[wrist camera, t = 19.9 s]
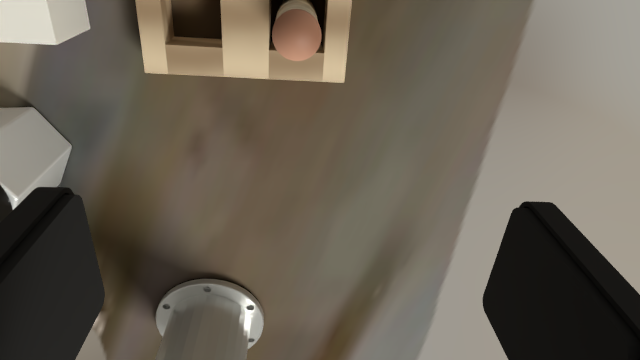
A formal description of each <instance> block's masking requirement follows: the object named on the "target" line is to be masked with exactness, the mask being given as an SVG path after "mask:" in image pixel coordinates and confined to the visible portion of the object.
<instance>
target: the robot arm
mask: <svg viewBox="0 0 640 360" xmlns="http://www.w3.org/2000/svg"><path fill="white" fill-rule="evenodd" d="M104 296H105V292H104V287H103V283H102V279H101V274H100V270H99V266H98V262H97V258H96V254H95V250H94V246H93V242H92V237H91V233H90V229H89V225H88V221H87V217H86V213H85V209H84V205H83V201H82V198H81V197H80V196H79V195H74V193H73V192H72V190H71V189H69V188H63V187H37V188H35V189H34V190H33V191H32V192H31V193H30V194H29V195H28V196H27V197H26V198H25V199H24V200H23V201H22V202H21V203H20V204H19V205H18V206H17V207H16V208H15V209H14V210H13V211H12V212H11V213H10V214H9V215H8V216H7V217H5V218H4V219H3V220H2V221H1V222H0V360H75V359H76V356H77V355H78V353H79V351H80V349H81V347H82V345H83V343H84V341H85V339H86V337H87V335H88V333H89V332H90V330H91V328H92V326H93V324H94V322H95V320H96V318H97V316H98V314H99V312H100V310H101V308H102V306H103V302H104ZM483 307H484V311H485V313H486V315H487V317H488V319H489V321H490V323H491V325H492V327H493V329H494V331H495V333H496V335H497V337H498V339H499V341H500V343H501V345H502V348H503V350H504V352H505V354H506V355H507V358H508V359H509V360H640V295H639V294H638V292H637V291H636V290H635V289H634V288H633V287H632V286H631V285H630V284H629V283H628V282H627V281H626V280H625V279H624V278H623V276H622V275H621V274H620V273H619V272H618V271H617V270H616V269H615V268H614V267H613V266H612V265H611V264H610V263H609V262H608V261H607V259H606V258H605V257H604V256H603V255H602V254H601V253H600V252H599V251H598V250H597V249H596V248H595V247H594V246H593V245H592V244H591V243H590V241H589V240H588V239H587V238H586V237H585V236H584V235H583V234H582V233H581V232H580V231H579V230H578V229H577V228H576V227H575V226H574V224H573V223H571V221H570V220H569V219H568V218H567V217H566V216H565V215H564V214H563V213H562V212H561V211H560V210H559V209H558V208H557V207H556V205H554V204H553V203H550V202H523V203H522V204H521V205H520V207H519V208H515V209H514V210H513V211H512V213H511V216H510V219H509V222H508V225H507V227H506V230H505V233H504V236H503V239H502V242H501V245H500V248H499V251H498V254H497V257H496V260H495V263H494V265H493V269H492V271H491V274H490V278H489V280H488V283H487V286H486V289H485V292H484V295H483ZM263 324H264V314H263V310H262V307H261V305H260V304H259V302H258V301H257V299H256V298H255V297H254V296H253V295H252V294H251V293H249V292H248V291H247V290H246V289H244V288H242V287H240V286H238V285H236V284H233V283H230V282H228V281H223V280H218V279H196V280H191V281H187V282H184V283H182V284H179V285H177V286H175V287H174V288H172V289H171V290H169V291H168V292H167V293H166V294H165V295H164V296H163V298H162V300H161V301H160V303H159V306H158V309H157V312H156V325H157V328H158V330H159V332H160V334H161V335H162V337H163V338H162V341H161V344H160V347H159V350H158V353H157V356H156V359H155V360H246V359H247V350H248V349H249V348H250V347H251V346H253V345H254V344H255V343H256V342H257V340H258V339H259V338H260V336H261V333H262V331H263Z"/></svg>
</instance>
